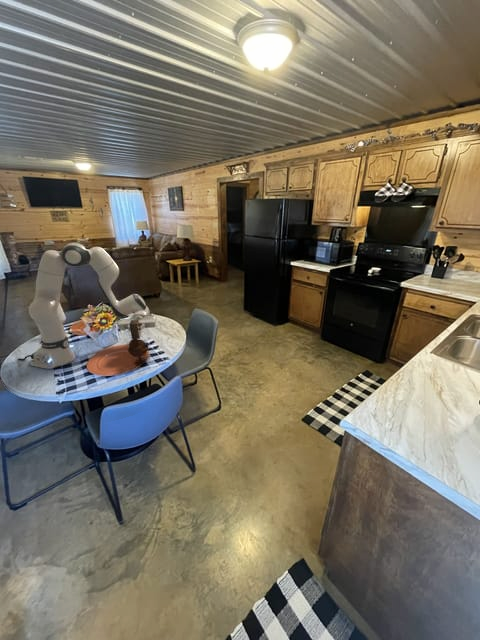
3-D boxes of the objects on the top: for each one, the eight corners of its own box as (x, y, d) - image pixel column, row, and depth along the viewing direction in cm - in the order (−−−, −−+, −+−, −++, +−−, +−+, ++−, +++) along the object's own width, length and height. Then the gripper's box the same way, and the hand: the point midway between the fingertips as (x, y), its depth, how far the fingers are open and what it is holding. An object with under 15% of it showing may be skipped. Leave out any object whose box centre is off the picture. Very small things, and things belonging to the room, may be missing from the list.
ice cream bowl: (144, 368, 145) (140, 344, 139) (126, 365, 147) (121, 342, 141) (154, 358, 155) (150, 335, 149) (136, 356, 157) (132, 333, 151)
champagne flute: (57, 337, 181) (47, 304, 171) (67, 333, 186) (58, 301, 177) (62, 339, 178) (52, 305, 168) (72, 335, 183) (63, 302, 174)
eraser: (132, 339, 143) (129, 324, 139) (133, 334, 148) (131, 320, 144) (139, 338, 144) (137, 323, 140) (141, 334, 149) (138, 319, 145)
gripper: (120, 315, 153) (113, 325, 140) (156, 313, 156) (153, 322, 143) (121, 325, 155) (115, 335, 142) (157, 323, 158) (154, 333, 146)
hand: (135, 329), depth 143 cm, fingers closed on eraser, 4 cm apart
